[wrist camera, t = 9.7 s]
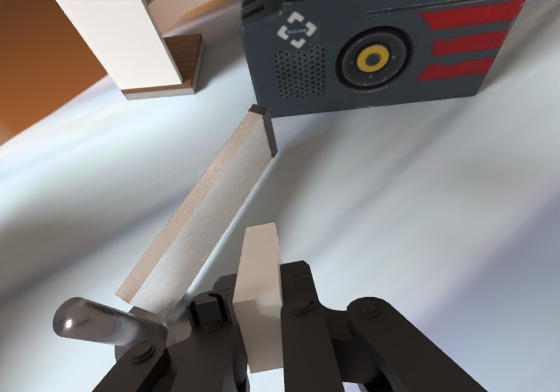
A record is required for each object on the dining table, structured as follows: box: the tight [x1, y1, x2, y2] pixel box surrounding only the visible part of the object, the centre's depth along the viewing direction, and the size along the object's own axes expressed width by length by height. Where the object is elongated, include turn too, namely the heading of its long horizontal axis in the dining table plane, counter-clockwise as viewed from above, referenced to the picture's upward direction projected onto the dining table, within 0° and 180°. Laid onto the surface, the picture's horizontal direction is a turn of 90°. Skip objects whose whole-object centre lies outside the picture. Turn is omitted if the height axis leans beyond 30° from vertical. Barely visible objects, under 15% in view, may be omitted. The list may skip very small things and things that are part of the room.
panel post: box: [53, 297, 192, 362], centre depth 26 cm, size 8×8×12 cm
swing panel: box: [115, 104, 278, 318], centre depth 31 cm, size 21×2×7 cm, turn 152°
